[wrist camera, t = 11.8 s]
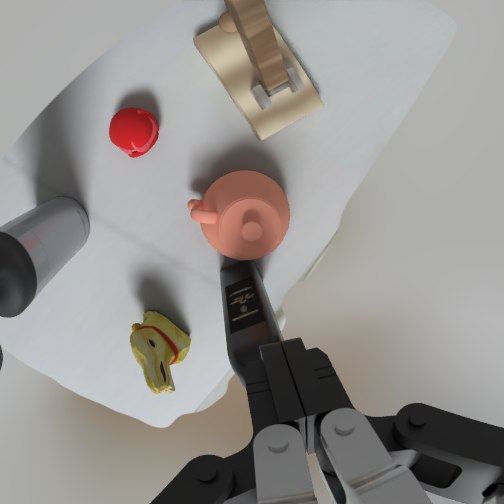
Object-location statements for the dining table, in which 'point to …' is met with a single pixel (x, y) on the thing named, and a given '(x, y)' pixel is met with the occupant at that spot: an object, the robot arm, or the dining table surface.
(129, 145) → the red helmet
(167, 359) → the chocolate bunny
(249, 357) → the wine bottle
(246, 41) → the lever
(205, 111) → the dining table surface
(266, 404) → the robot arm
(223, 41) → the nutcracker base
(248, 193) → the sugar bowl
